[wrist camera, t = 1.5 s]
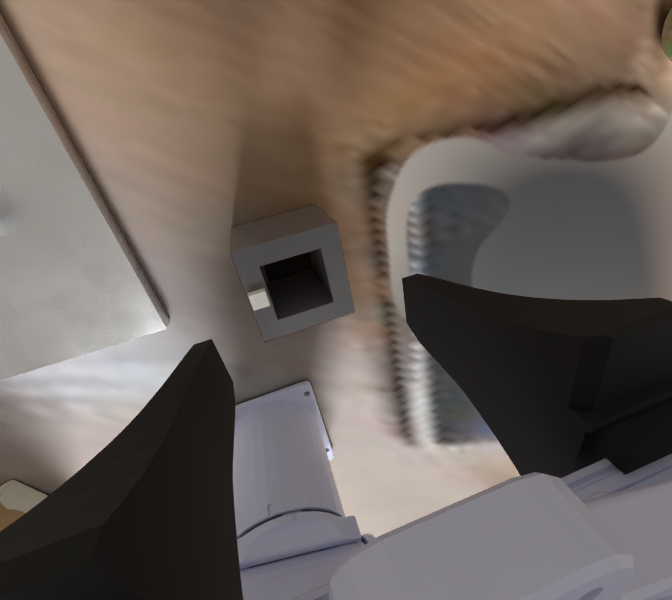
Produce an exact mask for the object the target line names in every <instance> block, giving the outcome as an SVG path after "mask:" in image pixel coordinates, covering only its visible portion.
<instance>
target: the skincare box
mask: <svg viewBox="0 0 672 600" xmlns="http://www.w3.org/2000/svg"><path fill="white" fill-rule="evenodd" d="M47 496H48V495H46V494H44V493H42V492H39V491H37V490H35V489H33V488H31V487H29V486H26V485H24V484H22V483H20V482H18V481H16V480H10V481H8V482H6V483H5V484H3V485H1V486H0V531H2V530H3V529H4V528H6V527H7V526H9V525H10V524H11V523H13V522H14V521H16V520H17V519H18V518H20V517H21V516H23V515H24V514H25V513H27V512H28V511H29V510H31V509H32V508H33V507H35V506H36V505H37V504H38V503H40V502H41V501H42V500H44V499H45V498H46V497H47Z"/></svg>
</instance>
